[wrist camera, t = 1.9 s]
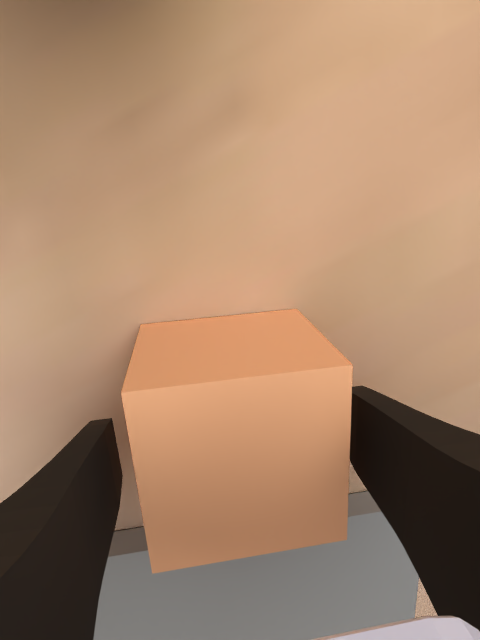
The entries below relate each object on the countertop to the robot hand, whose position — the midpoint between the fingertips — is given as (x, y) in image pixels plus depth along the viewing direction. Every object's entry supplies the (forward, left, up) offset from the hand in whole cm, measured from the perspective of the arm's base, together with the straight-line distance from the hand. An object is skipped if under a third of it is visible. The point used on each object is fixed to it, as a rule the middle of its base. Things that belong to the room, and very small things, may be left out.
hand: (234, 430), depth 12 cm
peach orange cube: (0, 0, -3) cm, 3 cm away
